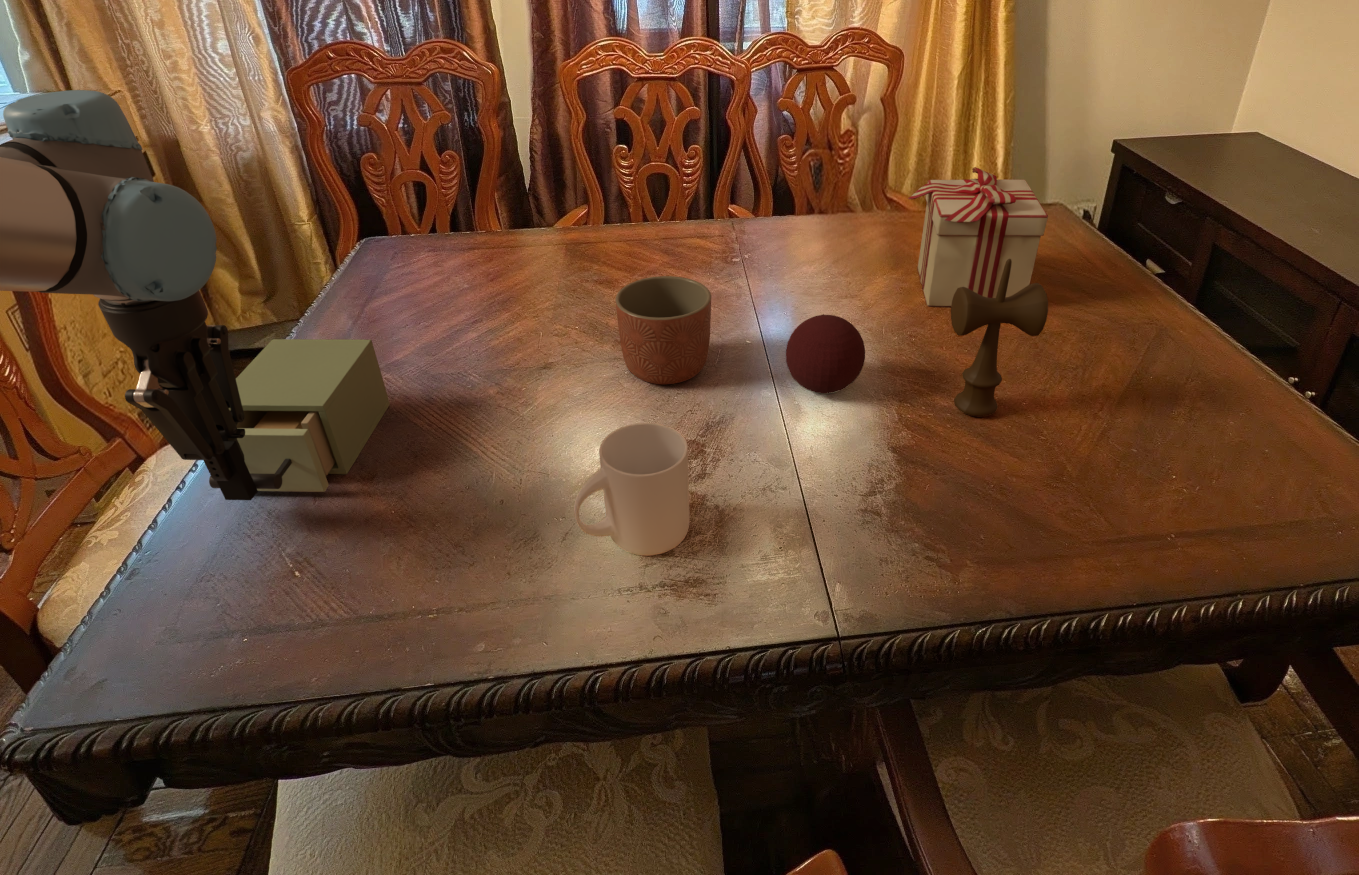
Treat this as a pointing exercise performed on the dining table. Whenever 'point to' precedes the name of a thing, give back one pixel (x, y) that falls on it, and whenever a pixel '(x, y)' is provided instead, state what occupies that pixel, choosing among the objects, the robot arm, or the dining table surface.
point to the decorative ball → (825, 354)
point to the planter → (664, 328)
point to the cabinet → (321, 388)
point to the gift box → (977, 236)
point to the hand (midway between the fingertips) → (241, 495)
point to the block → (282, 420)
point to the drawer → (286, 455)
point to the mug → (641, 489)
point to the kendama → (993, 335)
